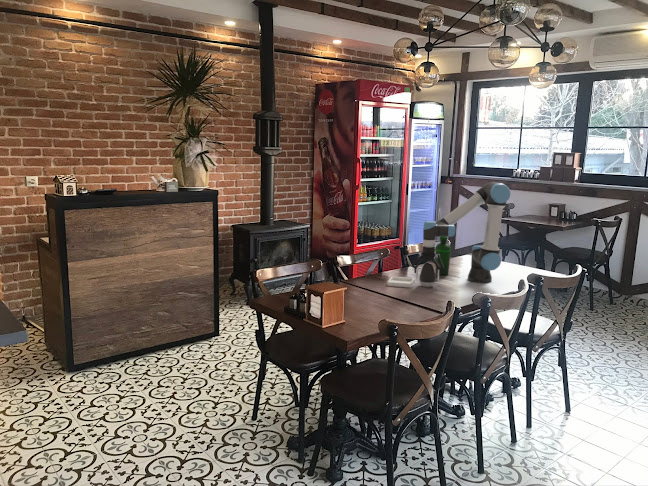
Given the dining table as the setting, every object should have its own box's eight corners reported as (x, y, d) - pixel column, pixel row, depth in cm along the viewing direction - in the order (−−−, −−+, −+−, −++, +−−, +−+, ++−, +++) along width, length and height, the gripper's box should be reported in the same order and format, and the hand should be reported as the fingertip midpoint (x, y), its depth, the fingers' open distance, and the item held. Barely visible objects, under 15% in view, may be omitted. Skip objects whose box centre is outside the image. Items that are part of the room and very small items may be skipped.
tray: (414, 281, 340) (414, 278, 339) (411, 287, 326) (411, 283, 325) (391, 280, 344) (391, 276, 344) (387, 285, 330) (387, 281, 330)
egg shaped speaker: (434, 284, 335) (435, 260, 332) (436, 288, 324) (437, 264, 322) (418, 283, 336) (419, 260, 333) (419, 287, 325) (420, 264, 323)
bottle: (452, 273, 362) (454, 233, 357) (446, 277, 353) (448, 236, 348) (437, 271, 367) (439, 232, 362) (431, 274, 358) (433, 234, 353)
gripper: (449, 246, 325) (448, 279, 329) (409, 243, 333) (408, 276, 336) (448, 248, 318) (447, 282, 322) (407, 245, 326) (406, 279, 329)
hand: (427, 279), depth 329 cm, fingers open, 13 cm apart
